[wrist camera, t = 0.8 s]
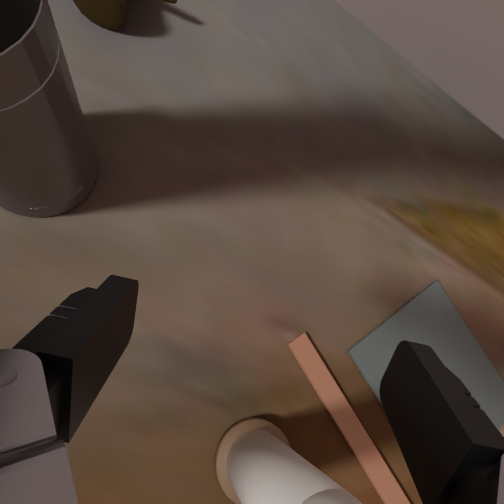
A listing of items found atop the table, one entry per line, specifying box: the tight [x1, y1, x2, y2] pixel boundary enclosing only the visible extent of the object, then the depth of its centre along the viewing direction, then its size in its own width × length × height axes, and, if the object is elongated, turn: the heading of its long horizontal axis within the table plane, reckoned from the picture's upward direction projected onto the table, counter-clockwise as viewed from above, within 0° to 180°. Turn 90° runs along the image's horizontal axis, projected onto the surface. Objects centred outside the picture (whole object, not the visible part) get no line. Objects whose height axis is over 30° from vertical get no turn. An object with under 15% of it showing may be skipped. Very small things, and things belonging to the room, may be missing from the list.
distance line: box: [287, 332, 410, 504], centre depth 32 cm, size 22×2×1 cm, turn 33°
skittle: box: [215, 417, 362, 504], centre depth 22 cm, size 6×6×16 cm
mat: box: [348, 280, 504, 430], centre depth 36 cm, size 16×14×1 cm
